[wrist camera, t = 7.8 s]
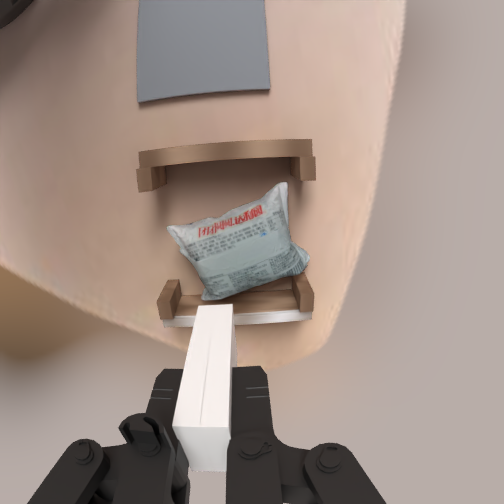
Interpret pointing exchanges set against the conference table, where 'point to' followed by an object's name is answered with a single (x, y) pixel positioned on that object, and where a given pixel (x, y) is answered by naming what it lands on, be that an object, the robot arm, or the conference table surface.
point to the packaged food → (242, 246)
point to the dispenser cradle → (244, 304)
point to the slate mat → (200, 47)
